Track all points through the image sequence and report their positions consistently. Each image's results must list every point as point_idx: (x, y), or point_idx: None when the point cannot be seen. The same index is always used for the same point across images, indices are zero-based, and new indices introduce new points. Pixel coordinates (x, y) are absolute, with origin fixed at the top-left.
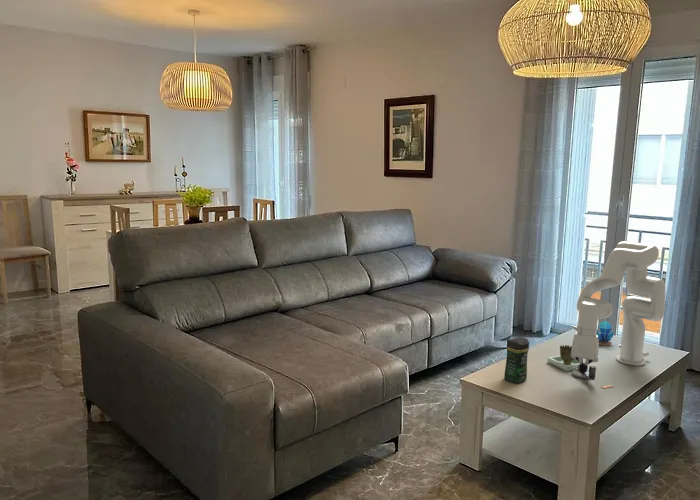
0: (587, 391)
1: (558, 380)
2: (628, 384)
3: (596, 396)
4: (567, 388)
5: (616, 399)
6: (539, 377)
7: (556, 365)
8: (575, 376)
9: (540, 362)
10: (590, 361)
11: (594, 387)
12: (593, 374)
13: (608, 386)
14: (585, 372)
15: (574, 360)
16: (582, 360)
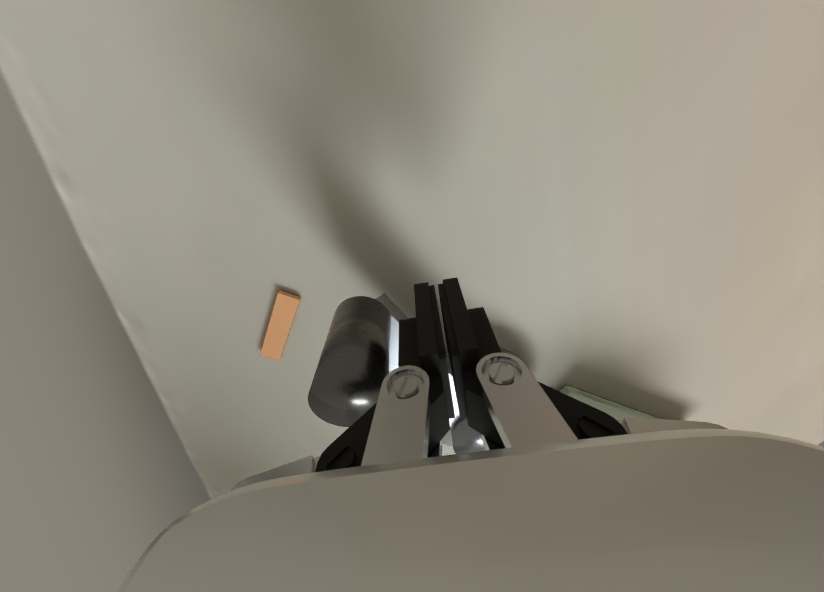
0: (336, 135)
1: (609, 206)
2: (231, 427)
3: (215, 61)
4: (510, 58)
5: (73, 136)
6: (784, 152)
7: (635, 414)
8: (503, 350)
9: (723, 407)
10: (344, 451)
11: (336, 265)
12: (333, 328)
13: (274, 334)
14: None
15: None
16: (490, 444)
